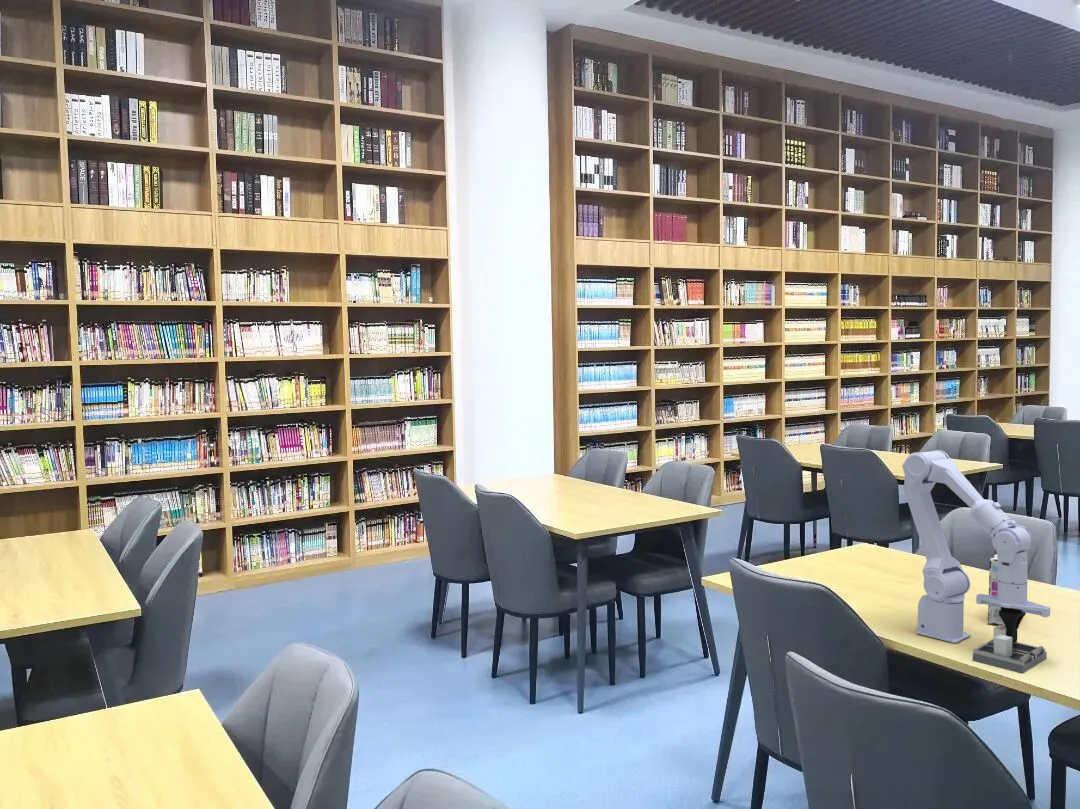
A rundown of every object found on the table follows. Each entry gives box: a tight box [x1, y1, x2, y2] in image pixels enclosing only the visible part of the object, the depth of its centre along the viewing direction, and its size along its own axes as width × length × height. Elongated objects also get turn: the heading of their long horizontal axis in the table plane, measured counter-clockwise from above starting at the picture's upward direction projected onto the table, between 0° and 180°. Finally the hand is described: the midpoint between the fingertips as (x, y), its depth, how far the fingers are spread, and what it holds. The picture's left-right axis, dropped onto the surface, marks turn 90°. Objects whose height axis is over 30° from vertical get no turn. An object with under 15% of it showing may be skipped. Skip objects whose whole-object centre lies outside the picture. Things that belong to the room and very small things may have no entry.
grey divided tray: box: [972, 639, 1048, 674], centre depth 180 cm, size 10×13×3 cm
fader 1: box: [992, 625, 1007, 644], centre depth 184 cm, size 2×3×4 cm
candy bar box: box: [987, 553, 1005, 626], centre depth 206 cm, size 11×5×16 cm, turn 141°
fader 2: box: [994, 634, 1012, 657], centre depth 178 cm, size 2×3×4 cm
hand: (1012, 642), depth 182 cm, fingers closed
